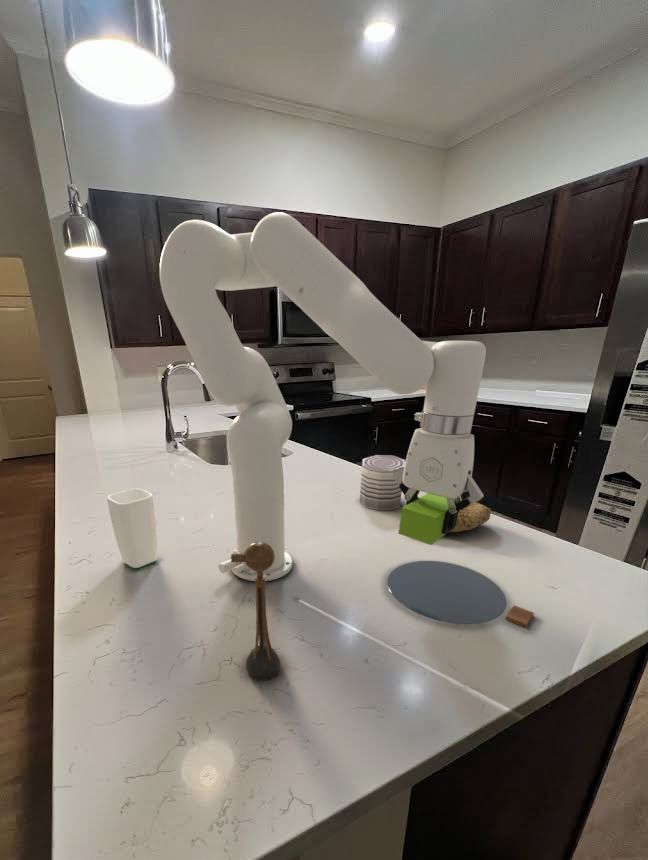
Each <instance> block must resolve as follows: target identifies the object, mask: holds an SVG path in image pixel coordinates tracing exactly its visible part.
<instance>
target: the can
mask: <svg viewBox="0 0 648 860" xmlns="http://www.w3.org/2000/svg"><path fill="white" fill-rule="evenodd" d="M405 462H406V459H404V458H401V457H399V456H396V455H391V454H389V455H388V454H387V455H385V454H383V455H382V454H374V455H371V456H368V457H365V458H362V461H361V477H360V492H359V504H361V505H362V506H363V507H365V508H367V509H370V510H371V509H372V510H375V511H393V510H395V509H398V508H400V507H401V501H402V494H403V492H402V491H401V489H400V487H399V485H398V484H397V482H396V481H395V479H394V478H393V475H394V474H395V473H397V472H398V471H399V470H401V469H402V468H403V467H405Z"/></svg>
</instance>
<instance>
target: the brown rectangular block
mask: <svg viewBox="0 0 648 860" xmlns="http://www.w3.org/2000/svg"><path fill="white" fill-rule="evenodd" d="M534 615H535V614H534V612H533V611H531V610H528V609H525V608H523V607H520V606H517V605H513V606H512V607H511V609H509V611H508V613H507V614H506V616H505V618H504V619H505V620H506V621H508V622H510V623H513V624H516V625H519V626H521V627H523V628H527V627H528V625H529V623H530V621H531V620H532V619H533V617H534Z"/></svg>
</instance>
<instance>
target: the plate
mask: <svg viewBox="0 0 648 860" xmlns="http://www.w3.org/2000/svg"><path fill="white" fill-rule="evenodd" d="M386 583H387V588H388V590H389V592H390V594H391V595H392V596H393V598H394V599H395V600H396V601H397V602H398V603H400V605H402V606H404V607H405V608H406V609H408V610H410V611H412V612H414V613H416V614H418V615H420V616H423V617H425V618H428V619H431V620H435V621H439V622H443V623H449V624H457V625H474V624H475V625H477V624H483V623H486V622H490V621H492V620H495V619H497V618H498V617H500V616H501V615H502V614H503V613H504V612H505V610H506V607H507V598H506V595H505V594H504V592H503V590H502V588H500V586H498V585H497V583H495V582H494V581H493V580H492V579H490V578H489V577H487V576H485V575H484V574H482V573H480V572H478V571H476V570H474V569H472V568H468V567H466V566H462V565H460V564H455V563H450V562H447V561H446V562H445V561H439V560H418V561H412V562H407V563H404V564H401V565H399V566H397V567H396V568H394V569H393V570H392V571H391V572H390V573H389V574H388V576H387V580H386Z"/></svg>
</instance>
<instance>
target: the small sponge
mask: <svg viewBox="0 0 648 860" xmlns="http://www.w3.org/2000/svg"><path fill="white" fill-rule="evenodd" d="M446 512H448V504H447V499H446V498H445V497H441V496H437V495H433V494H429V493H425V494H424V495H422V496H420V497H419V498H418V499H417V500H415V501H413V502H411V503H410V504H408V505H406V504H405V505H403V506H402V507H401V513H400V521H399V529H398V534H399V535H401V536H404V537H407V538H410V539H412V540H414V541H415V540H416V541H418V542H421V543H423V544H427V545H430V546H432V545H434V544H435V543H436V542H438V541H439V540H440V539H442V538H444V536H446V534H442V528H443V523H444V518H445V513H446ZM458 514H459V513H458ZM457 519H458V518H457ZM456 524H457V523H456Z"/></svg>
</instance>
